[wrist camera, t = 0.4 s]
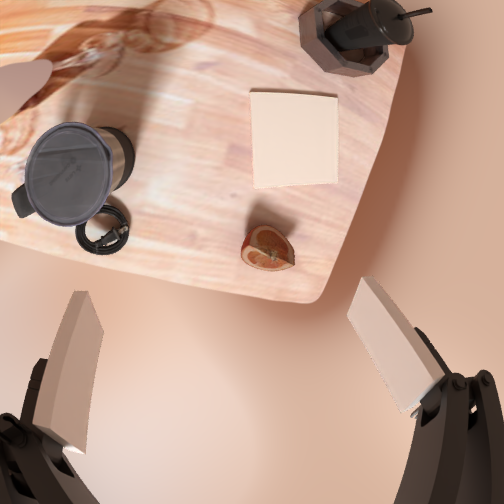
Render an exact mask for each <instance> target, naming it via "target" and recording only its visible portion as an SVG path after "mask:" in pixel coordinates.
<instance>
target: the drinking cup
mask: <svg viewBox="0 0 504 504" xmlns="http://www.w3.org/2000/svg"><path fill="white" fill-rule="evenodd" d="M427 13H432V9H431V8H424V9H420V10H416V11H412V12H408V13H406V11H405V10H404V9H403V8H402V6H401V5H399V4H398V3H397V2H396V1H395V0H370V1H369V2H367V3H365V4H364V5H362V6H361V7H359V8H357V9H356V10H354V11H352V12H351V13H349V14H348V15H346V16H345V17H343V18H342V19H340V20H339V21H337V22H336V23H334V24H333V25H331V26H330V27H328V28H327V29H326V30H325V32H324V37H325V38H326V39H327V40H328V41H329V42H330V43H331V44H332V45H333V46H334V48H335V49H336V50H337V51H339V52H342V51H348V50H353V49H359V48H366V47H373V46H381V45H391V44H398V45H407V44H409V43H410V42H411V41H412V39H413V36H414V30H413V25H412V22H411V20H410V18H409V17H413V16H417V15H422V14H427Z"/></svg>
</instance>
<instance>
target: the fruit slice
mask: <svg viewBox="0 0 504 504" xmlns="http://www.w3.org/2000/svg"><path fill="white" fill-rule="evenodd" d="M241 258H242V260H243V261H244V262H245V263H247V264H248V265H250V266H252V267H254V268H257V269H261V270H265V271H279V270H284V269H287V268H290V267H292V266H294V265H295V262H294V261H295V259H294V258H295V255H294V249H293V247H292V245H291V244H290V243H289V241H288V240H287V239H286V238H285V236H284V235H283V234H282V233H280V232H279V231H278V230H277V229H275V228H273V227H271V226H268V225H261V226H257V227H255V228H254V229H253V230H251V231H250V232H249V234H248V235H247V236H246V238H245V240H244V242H243V245H242V248H241Z"/></svg>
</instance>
